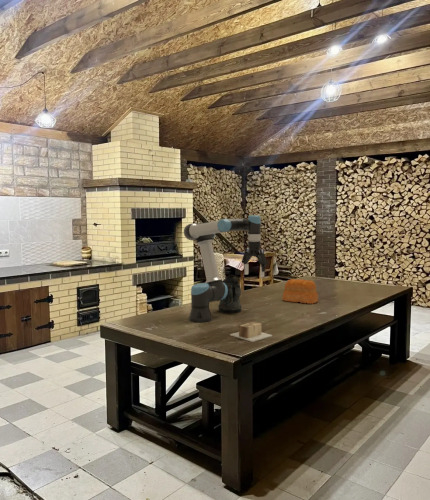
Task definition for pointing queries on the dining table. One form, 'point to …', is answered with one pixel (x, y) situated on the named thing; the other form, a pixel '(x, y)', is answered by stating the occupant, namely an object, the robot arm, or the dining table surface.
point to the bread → (300, 291)
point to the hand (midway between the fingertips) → (254, 275)
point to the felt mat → (254, 338)
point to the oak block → (249, 329)
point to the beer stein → (231, 297)
